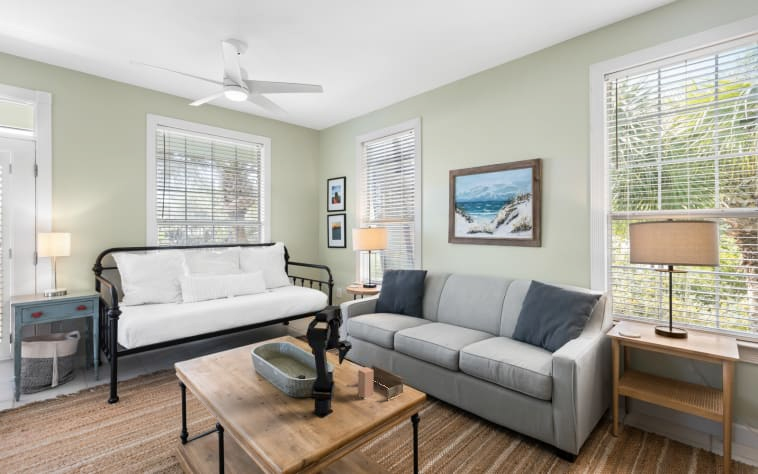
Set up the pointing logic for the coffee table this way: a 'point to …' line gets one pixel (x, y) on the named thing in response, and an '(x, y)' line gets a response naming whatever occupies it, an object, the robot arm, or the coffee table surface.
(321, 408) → the robot arm
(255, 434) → the coffee table surface
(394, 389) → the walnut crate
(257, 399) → the coffee table surface
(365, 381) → the terracotta block
